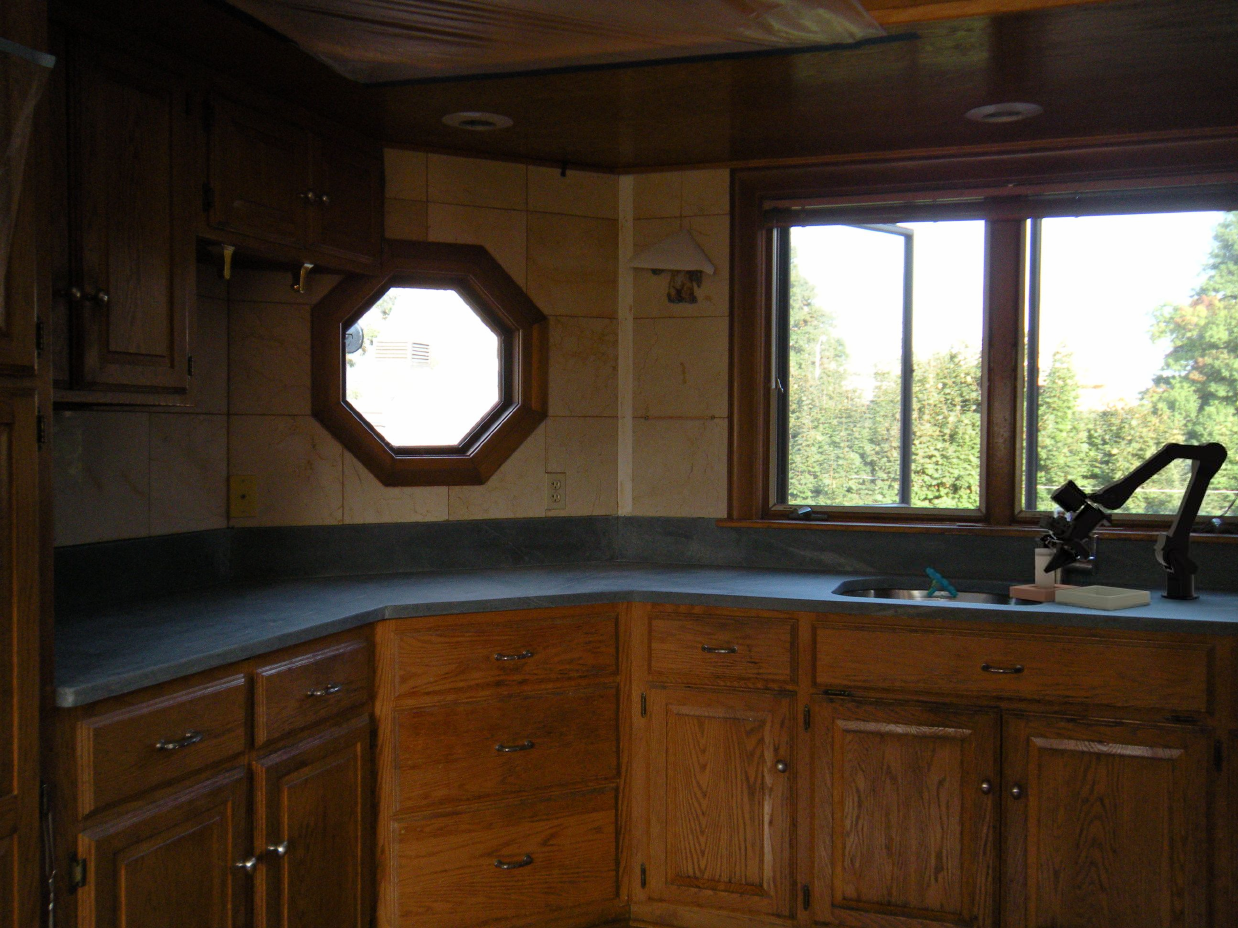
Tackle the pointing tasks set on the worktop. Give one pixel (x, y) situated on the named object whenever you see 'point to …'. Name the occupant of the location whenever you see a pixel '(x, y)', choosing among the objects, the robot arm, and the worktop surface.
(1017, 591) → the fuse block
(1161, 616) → the worktop surface
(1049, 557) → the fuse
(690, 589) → the worktop surface
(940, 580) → the teal branched piece
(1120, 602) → the tray
